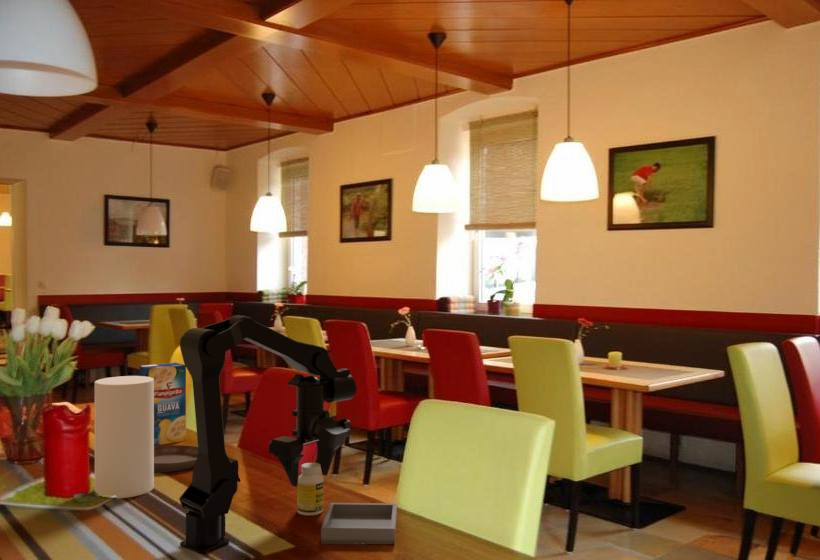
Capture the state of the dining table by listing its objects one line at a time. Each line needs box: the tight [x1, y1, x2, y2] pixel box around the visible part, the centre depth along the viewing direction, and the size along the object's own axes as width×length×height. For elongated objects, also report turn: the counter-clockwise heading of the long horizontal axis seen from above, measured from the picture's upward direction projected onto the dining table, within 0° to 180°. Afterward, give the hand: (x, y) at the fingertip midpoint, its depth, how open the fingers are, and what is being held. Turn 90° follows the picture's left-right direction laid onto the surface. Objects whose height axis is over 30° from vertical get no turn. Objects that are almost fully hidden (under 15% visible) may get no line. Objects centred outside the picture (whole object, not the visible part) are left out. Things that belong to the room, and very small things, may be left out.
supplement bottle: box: [296, 462, 325, 516], centre depth 147 cm, size 5×5×10 cm
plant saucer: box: [154, 444, 199, 473], centre depth 181 cm, size 18×18×3 cm
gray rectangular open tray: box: [320, 502, 398, 545], centre depth 137 cm, size 14×14×3 cm
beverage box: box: [138, 362, 187, 447], centre depth 203 cm, size 7×11×22 cm, turn 133°
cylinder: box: [94, 375, 155, 499], centre depth 160 cm, size 12×12×25 cm
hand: (310, 480), depth 147 cm, fingers open, 9 cm apart
